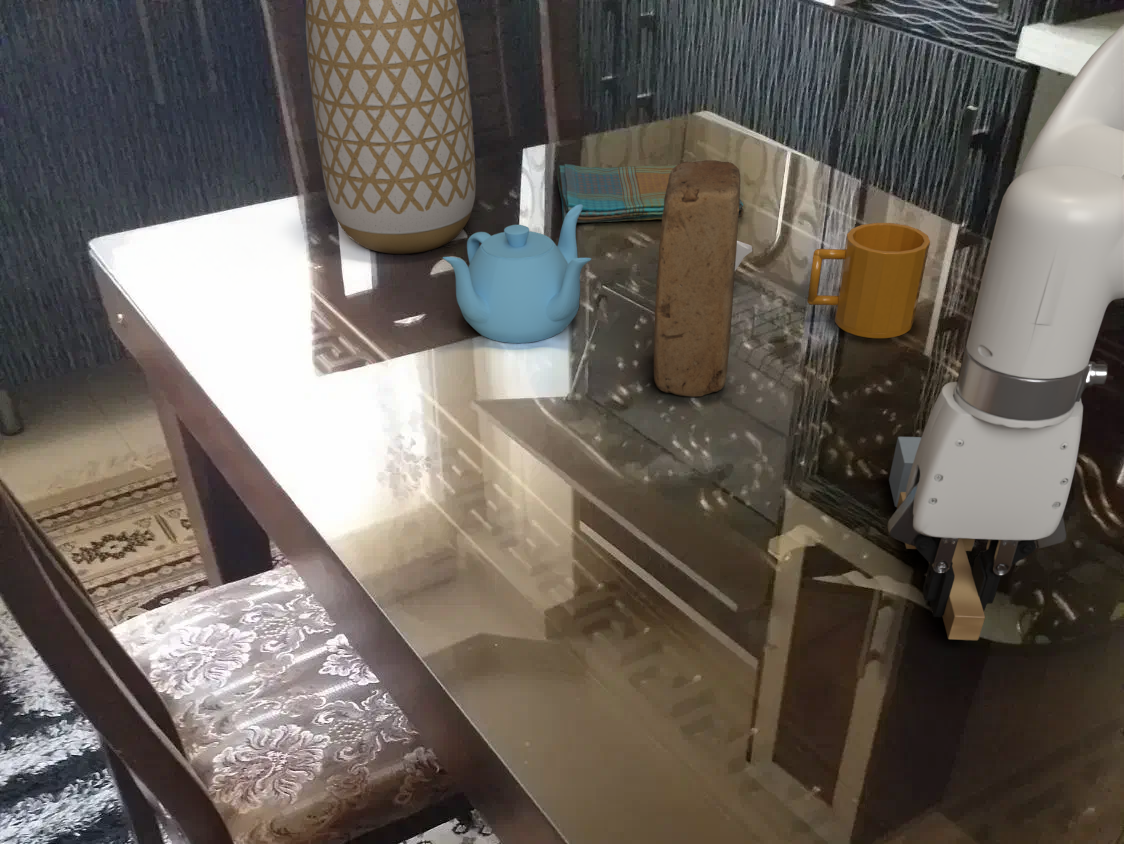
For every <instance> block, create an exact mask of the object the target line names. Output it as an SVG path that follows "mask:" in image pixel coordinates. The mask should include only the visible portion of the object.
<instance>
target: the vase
mask: <svg viewBox="0 0 1124 844" xmlns="http://www.w3.org/2000/svg"><path fill="white" fill-rule="evenodd" d="M464 37H465V36H464V31H463V24H462V20H461V15H460V9H459V5H458V1H457V0H305V39H306V41H305V42H306V55H307V65H308V74H309V83H310V92H311V100H312V109H313V115H314V123H315V131H316V139H317V143H318V144H317V145H318V151H319V159H320V165H321V171H322V177H323V182H324V187H325V193H326V196H327V200H328V204H329V206H330V210H331V213H333V216H334V217H335V219H336V222H337V223H338V225H339V226H340V227H339V228H341V229H342V231H343V232H344V233H345V234H346V235H347V236H348V237H349V238H350V239H352V241H354V242H355V243H357V245H360V246H361V247H364V248H365V249H368V250H372V251H375V252H377V253H383V254H391V255H392V254H393V255H408V254H419V253H424V252H428V251H432V250H435V249H438V248H441V247H442V246H444V245H447V244H449V243H450V242H451V241H453V240H454V239H455V238H456V237H457V236H458V235H459V234H460V233H461V232H462V230H463V229H464V228H465V227H466V226H467V224H468V222H469V220H470V218H471V214H472V211H473V208H474V203H475V200H476V185H477V182H476V180H477V177H476V175H477V174H476V172H477V171H476V155H475V139H474V124H473V113H472V101H471V90H470V81H469V71H468V63H467V62H468V60H467V51H466V45H465V38H464Z"/></svg>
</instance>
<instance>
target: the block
mask: <svg viewBox="0 0 1124 844" xmlns="http://www.w3.org/2000/svg"><path fill="white" fill-rule="evenodd" d="M676 165H677V166H675V167H674V168H673V169H672V171H671V173H670V175H669V180H668V185H667V189H666V194H665V198H664V209H663V215H662V219H661V225H660V236H659V244H658V245H659V246H658V260H657V272H656V285H655V287H656V288H655V289H656V290H655V304H654V326H653V328H654V329H653V330H654V331H653V333H654V334H653V380H654V383H655V386H656V388H657V389H659V390H660V391H662V392H664V393H667V394H673V395H676V396H680V397H691V398H692V397H693V398H694V397H695V398H696V397H703V396H706V395H709V394H712V393H717V392H719V391H721V390H722V389H723V388H724V387H725V385H726V381H727V374H728V365H729V355H730V345H731V337H732V336H731V335H732V334H731V333H732V319H733V318H732V317H733V302H734V287H735V274H736V271H735V262H736V249H737V241H738V233H739V217H740V216H739V202H740V200H741V173H740V168H739V167H738V166H737V165H736V164H734V163H733V162H730V161H721V160H715V159H714V160H713V159H712V160H711V159H706V160H696V161H682V162H681V163H678V164H676Z"/></svg>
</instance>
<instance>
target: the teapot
mask: <svg viewBox="0 0 1124 844" xmlns="http://www.w3.org/2000/svg"><path fill="white" fill-rule="evenodd" d="M582 208H583V205H581V204H579V205H576V206H575V207H573V208H572V209H571V210H570V211H569V212H568V213H567V214H566V216H565V219H564V221H563V220H562V225H561V229H560V234H559V237H558V243H557V244H556V243H555V242H554V240H552V238H551V237H549V236H548V235H546V234H543V233H541V232H536V231H530V228H529V227H528V226H526V225H524V224H512V225H508V226H506V227H504V229H503V232H498V233H495V234H493V235H491V234H489V233H488V232H486V231H477V232H475V233H473V234H471V235H470V236H469V237H468V239H467V241H466V251H467V258H468V263H469V264H467V262H466V261H465V260H464V259H463V258H460V257H456V256H442V259H443V260H444V261H446V262H447V263H448V264H450V266H451V267H452V269H453V272H454V277H455V297H456V302H457V304H458V307H459V309H460V313H461V315H462V317H463V318H464V320H465V321H466V323H468V324H469V326H470V327H472V328H473V330H475V331H476V332H477V333H478V334H480V335H481V336H482V337H484V338H487V339H489V340H492V341H497V342H501V343H502V342H503V343H510V344H526V343H535V342H539V341H544V340H548V339H550V338H552V337H555V336H556V335H559V334H560V333H562V332H563V331H565V330H566V328H567V327H568V326H569V325H570V324H571V322H572V321H573V320H574V319H575V318H576V316H577V314H578V312H579V309H580V299H581V273H582V270H583V268H584V266H585V265H586V264H588V263H589V262H591V261H592V258H591V257H578V256H579V255H578V246H577V245H578V244H577V232H576V231H577V224H578V223H577V219H578V217H579V215H580V212H581V211H582Z"/></svg>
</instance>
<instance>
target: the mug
mask: <svg viewBox="0 0 1124 844" xmlns="http://www.w3.org/2000/svg"><path fill="white" fill-rule="evenodd" d="M930 245H931V239H930V237H929V235H928V234H927V233H925V232H924V231H922V230H921V229H919V228H915V227H912V226H910V225H906V224H900V223H894V222H872V223H865V224H860V225H858V226H856V227H853V228H851V229H850V230H849V232H848V233H846V238H845V244H844V249H843V248H817V249H815V250H814V251H813V253H812V262H811V269H810V276H809V283H808V291H807V298H806V302H807V304H808V305H809V306H835V309H834V323H835V324H836V325H837V327H839V328H840V329H841V330H843V331H844V332H846V333H848V334H851V335H853V336H857V337H863V338H868V339H890V338H891V339H892V338H895V337H899V336H903V335H904V334H906V333H908V332H909V331H910V330H911V329H912V327H913V323H914V321H915V319H916V312H917V308H918V303H919V299H920V293H921V289H922V285H923V284H922V283H923V280H924V279H923V278H924V274H925V269H926V264H927V260H928V254H929V249H930ZM823 260H836V261H837V260H842V264H841V268H840V269H841V270H840V275H839V283H838V289H837V295H830V294H829V295H828V294H827V295H825V294H823V295H822V294H818V292H819V286H820V278H821V271H822V265H823Z"/></svg>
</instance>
